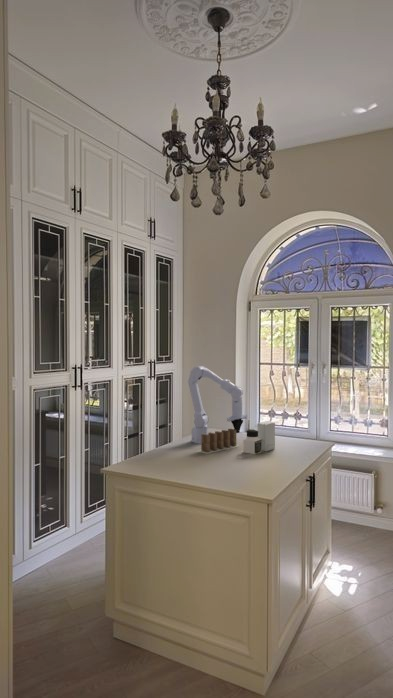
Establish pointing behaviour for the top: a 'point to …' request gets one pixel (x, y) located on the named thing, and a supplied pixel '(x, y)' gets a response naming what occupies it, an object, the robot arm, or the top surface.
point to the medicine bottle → (252, 442)
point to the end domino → (205, 443)
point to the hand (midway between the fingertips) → (237, 432)
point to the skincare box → (267, 435)
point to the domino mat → (218, 449)
